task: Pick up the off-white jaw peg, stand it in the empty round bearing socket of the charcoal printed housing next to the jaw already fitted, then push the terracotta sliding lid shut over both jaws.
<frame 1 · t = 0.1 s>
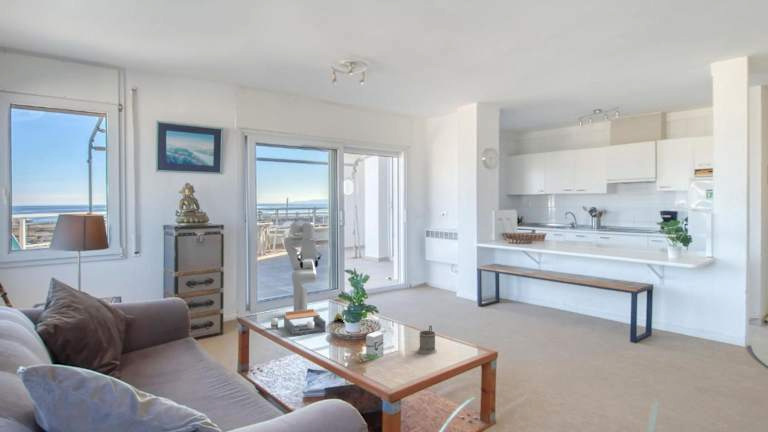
hand: (309, 267, 276), 37 cm above the table, tool pointing down, fingers open, 9 cm apart
housing: (306, 331, 259), on the table
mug: (428, 350, 225), on the table
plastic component: (349, 319, 287), on the table
lid: (301, 314, 268), point 8 cm above the table, slide at 11.0 cm
jaw peg: (274, 328, 266), on the table
ink box: (374, 357, 215), on the table
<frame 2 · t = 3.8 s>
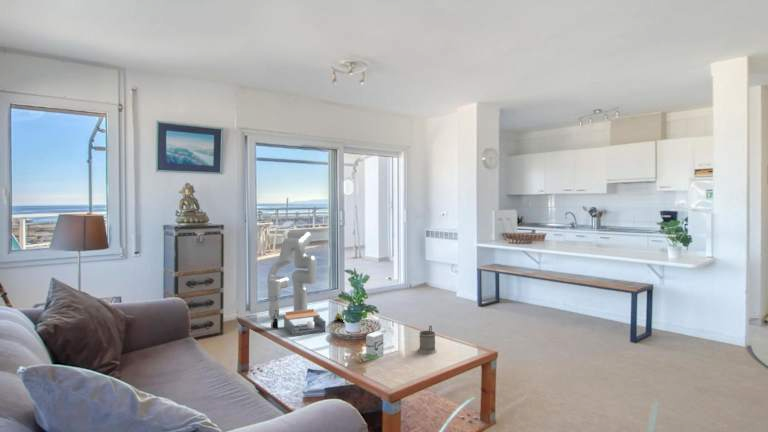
hand: (274, 326, 266), 1 cm above the table, tool pointing down, fingers closed on jaw peg, 4 cm apart
jaw peg: (274, 328, 266), on the table, touching gripper
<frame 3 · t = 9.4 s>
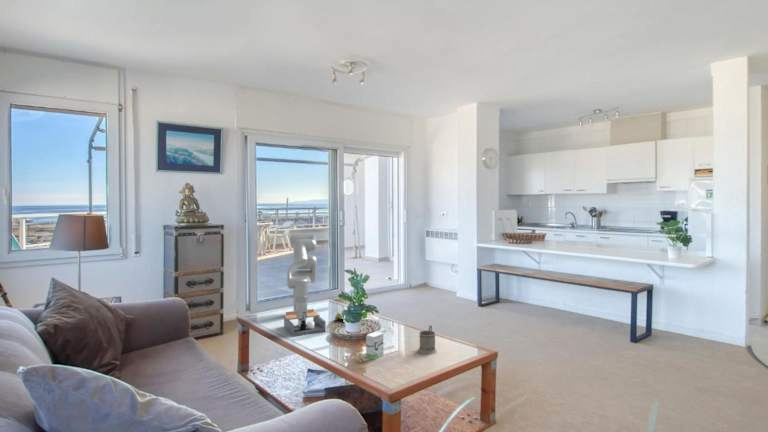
hand: (302, 328, 255), 3 cm above the table, tool pointing down, fingers closed on jaw peg, 4 cm apart
jaw peg: (302, 330, 255), point 2 cm above the table, touching gripper
when the fingers open (2 cm above the table, at t = 9.7 s): jaw peg drops 2 cm, resting in housing.
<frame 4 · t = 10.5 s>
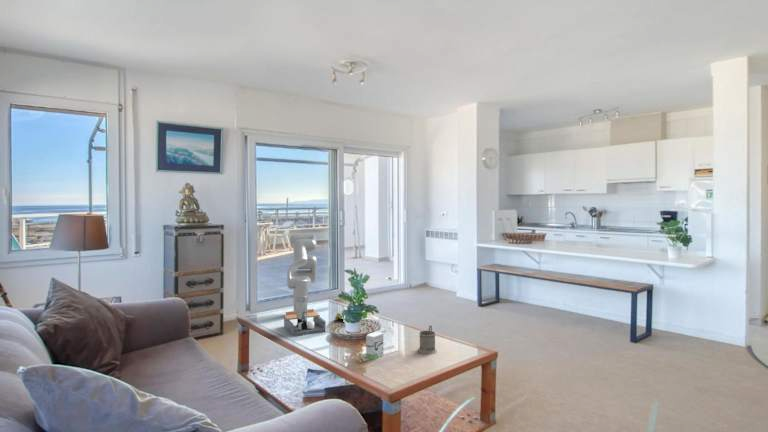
hand: (302, 327, 255), 4 cm above the table, tool pointing down, fingers open, 9 cm apart
jaw peg: (302, 333, 256), resting in housing
everything else where it was.
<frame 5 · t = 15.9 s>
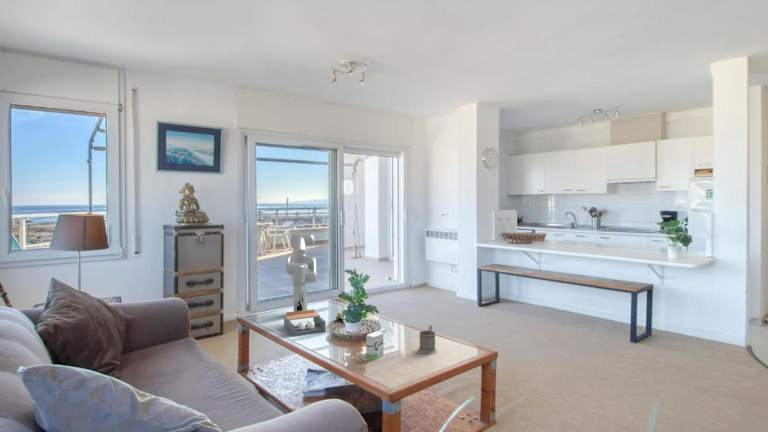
hand: (299, 311, 273), 8 cm above the table, tool pointing down, fingers closed
lid: (302, 314, 267), point 8 cm above the table, slide at 9.8 cm, touching gripper
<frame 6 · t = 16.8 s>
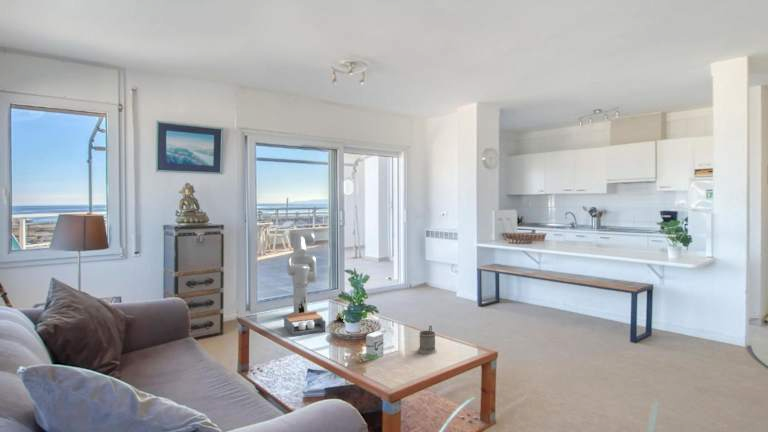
hand: (301, 313, 269), 8 cm above the table, tool pointing down, fingers closed
lid: (304, 316, 263), point 8 cm above the table, slide at 4.7 cm, touching gripper
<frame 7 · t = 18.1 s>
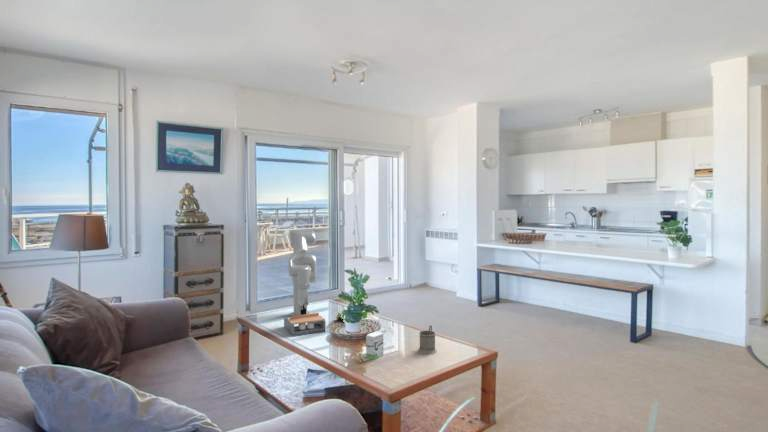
hand: (303, 315, 264), 8 cm above the table, tool pointing down, fingers closed
lid: (306, 318, 258), point 8 cm above the table, slide at -0.1 cm, touching gripper
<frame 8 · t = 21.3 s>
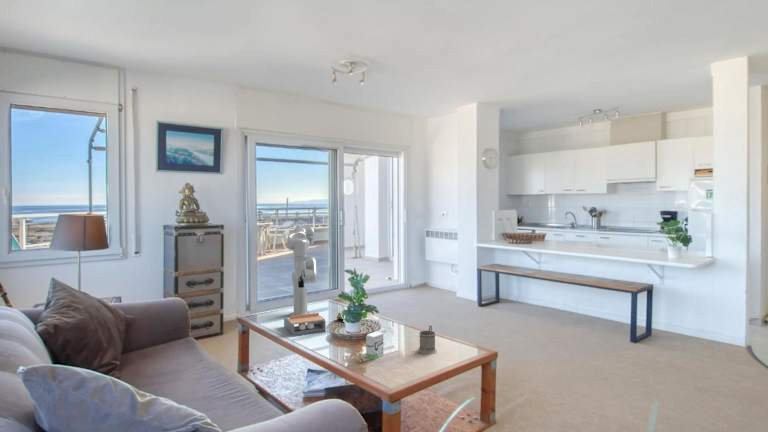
hand: (301, 287, 269), 25 cm above the table, tool pointing down, fingers closed
lid: (306, 318, 258), point 8 cm above the table, slide at 0.0 cm
at the end: jaw peg 0.1 cm from the target spot on the housing, point 0.0 cm above the housing's base; jaw peg tilted 1°; lid slide at 0.0 cm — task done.
